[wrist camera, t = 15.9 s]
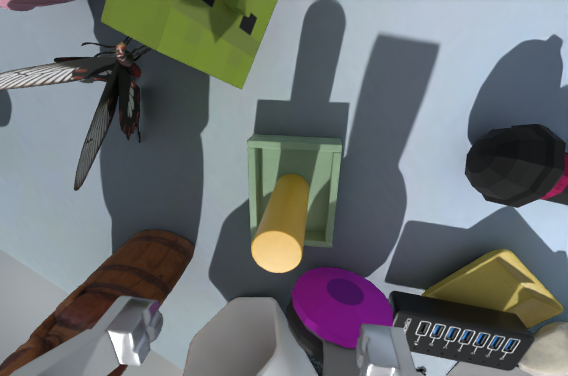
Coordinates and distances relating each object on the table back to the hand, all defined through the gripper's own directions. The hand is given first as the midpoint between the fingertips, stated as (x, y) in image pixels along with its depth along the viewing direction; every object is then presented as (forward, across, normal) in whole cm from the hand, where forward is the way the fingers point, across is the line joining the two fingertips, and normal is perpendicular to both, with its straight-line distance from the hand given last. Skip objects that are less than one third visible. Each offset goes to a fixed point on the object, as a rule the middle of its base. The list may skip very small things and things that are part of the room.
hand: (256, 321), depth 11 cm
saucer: (+14, -18, +10) cm, 25 cm away
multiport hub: (+12, -15, +12) cm, 22 cm away
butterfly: (+15, +12, -6) cm, 20 cm away
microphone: (+15, -22, -1) cm, 26 cm away
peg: (+14, 0, +1) cm, 14 cm away
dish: (+15, 0, +1) cm, 15 cm away
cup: (+10, -4, +30) cm, 31 cm away
